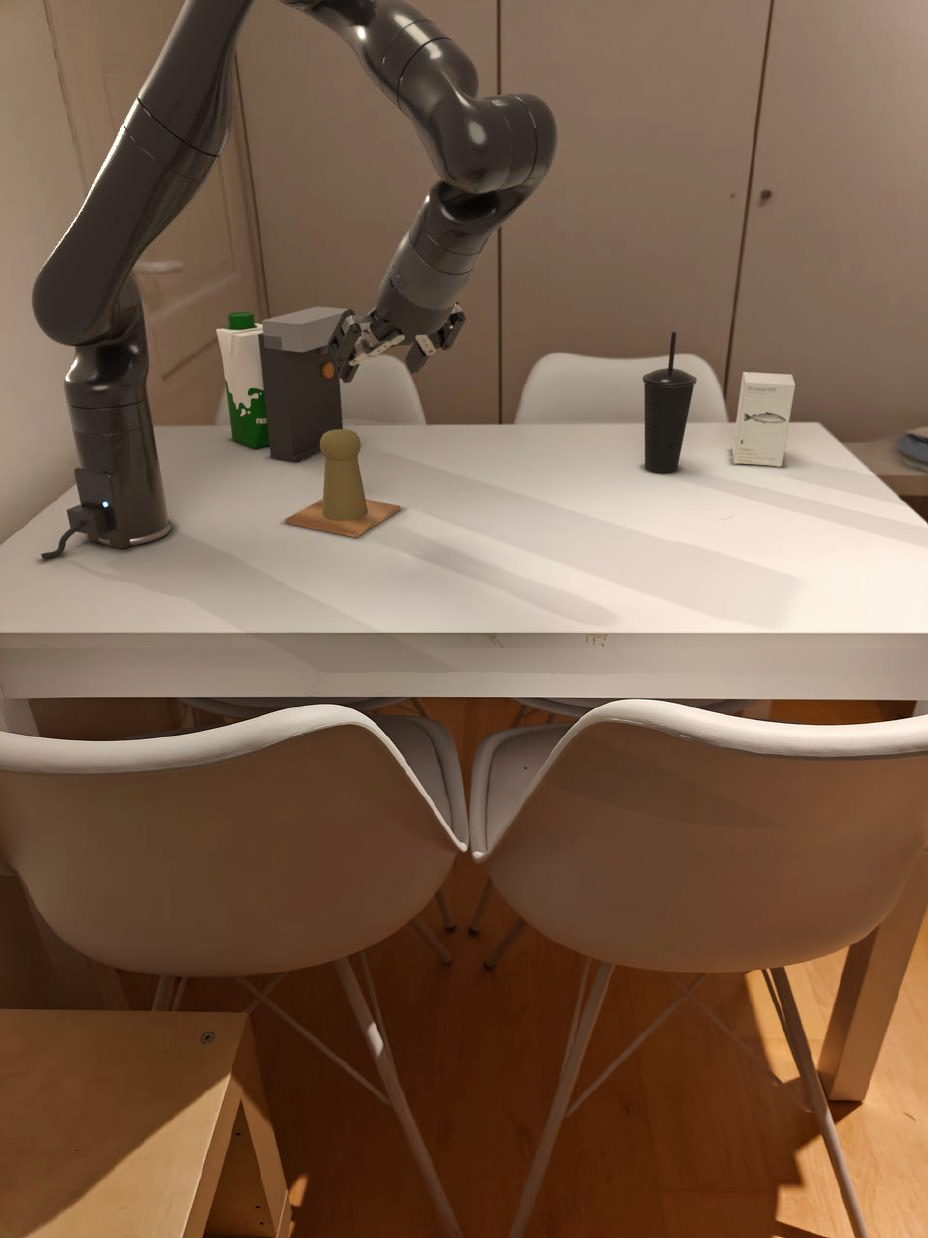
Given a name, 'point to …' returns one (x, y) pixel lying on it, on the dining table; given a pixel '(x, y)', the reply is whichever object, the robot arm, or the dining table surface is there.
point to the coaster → (353, 528)
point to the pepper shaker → (342, 476)
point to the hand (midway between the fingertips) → (377, 371)
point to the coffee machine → (300, 381)
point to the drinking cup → (666, 414)
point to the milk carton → (244, 379)
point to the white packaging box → (763, 418)
